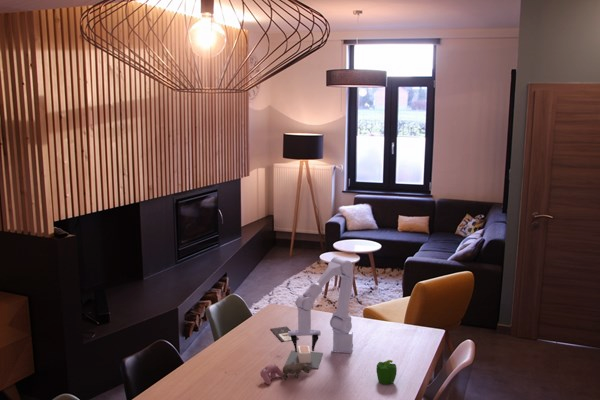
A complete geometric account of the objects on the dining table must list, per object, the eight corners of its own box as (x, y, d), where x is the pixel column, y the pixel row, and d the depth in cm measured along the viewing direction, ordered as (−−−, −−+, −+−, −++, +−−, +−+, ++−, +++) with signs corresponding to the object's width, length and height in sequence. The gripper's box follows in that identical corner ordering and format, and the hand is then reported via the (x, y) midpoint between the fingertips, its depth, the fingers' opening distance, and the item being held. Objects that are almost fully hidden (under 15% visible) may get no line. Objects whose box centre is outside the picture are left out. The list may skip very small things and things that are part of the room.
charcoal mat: (323, 353, 263) (323, 352, 263) (317, 369, 247) (317, 368, 247) (291, 351, 266) (291, 350, 266) (284, 366, 249) (284, 365, 249)
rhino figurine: (314, 376, 240) (314, 362, 239) (283, 381, 235) (283, 367, 234) (310, 372, 244) (310, 359, 243) (280, 377, 239) (280, 363, 238)
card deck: (310, 362, 252) (310, 352, 252) (299, 362, 252) (299, 353, 251) (308, 354, 261) (308, 345, 260) (297, 355, 260) (297, 345, 260)
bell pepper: (371, 382, 234) (372, 359, 233) (383, 376, 240) (384, 353, 239) (387, 389, 229) (388, 365, 227) (399, 382, 234) (400, 359, 233)
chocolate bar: (286, 326, 297) (298, 338, 280) (286, 328, 297) (298, 340, 281) (270, 328, 294) (281, 340, 277) (270, 330, 294) (281, 342, 277)
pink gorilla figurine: (277, 378, 241) (272, 362, 242) (285, 376, 238) (279, 360, 239) (262, 387, 233) (256, 370, 234) (270, 385, 231) (264, 368, 232)
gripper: (319, 318, 258) (319, 346, 260) (287, 319, 257) (287, 347, 259) (321, 323, 251) (321, 352, 253) (288, 324, 250) (288, 354, 252)
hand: (304, 350), depth 256 cm, fingers open, 7 cm apart
